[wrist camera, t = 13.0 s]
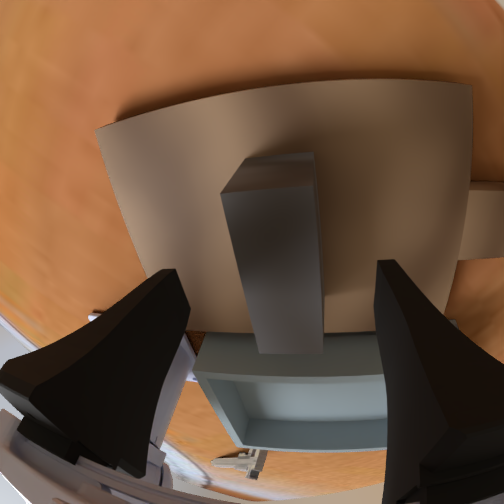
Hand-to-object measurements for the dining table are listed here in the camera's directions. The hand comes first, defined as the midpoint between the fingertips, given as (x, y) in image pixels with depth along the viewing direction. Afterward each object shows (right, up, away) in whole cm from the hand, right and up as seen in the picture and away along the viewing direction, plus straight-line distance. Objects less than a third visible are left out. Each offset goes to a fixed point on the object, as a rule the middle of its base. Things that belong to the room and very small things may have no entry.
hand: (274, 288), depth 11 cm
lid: (+3, +3, +5) cm, 7 cm away
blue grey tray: (+8, -12, +14) cm, 20 cm away
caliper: (-3, -27, +27) cm, 38 cm away
